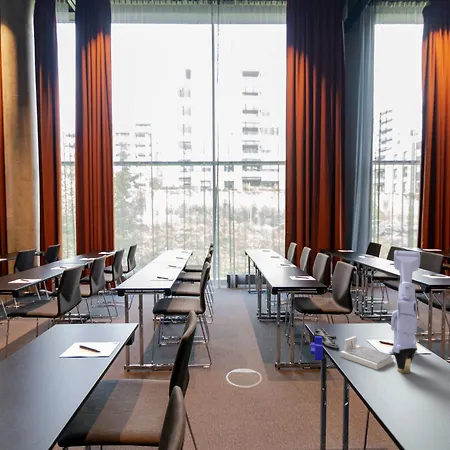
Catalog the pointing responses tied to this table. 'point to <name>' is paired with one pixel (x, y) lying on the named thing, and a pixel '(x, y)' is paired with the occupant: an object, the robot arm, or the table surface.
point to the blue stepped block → (317, 348)
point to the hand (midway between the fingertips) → (403, 367)
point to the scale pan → (370, 354)
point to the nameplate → (326, 339)
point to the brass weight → (406, 366)
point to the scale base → (352, 344)
